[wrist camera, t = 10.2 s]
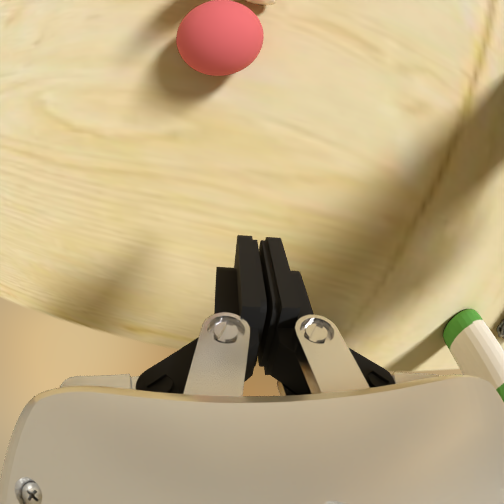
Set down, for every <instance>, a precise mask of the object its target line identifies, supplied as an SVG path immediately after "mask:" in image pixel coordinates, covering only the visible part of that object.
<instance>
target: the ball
mask: <svg viewBox="0 0 504 504" xmlns="http://www.w3.org/2000/svg"><path fill="white" fill-rule="evenodd" d="M176 42H177V48H178V51H179V53H180V55H181V57H182V59H183V60H184V61H185V62H186V63H187V64H188V65H189V66H190V67H191V68H193V69H194V70H196V71H198V72H201V73H203V74H207V75H213V76H224V75H229V74H233V73H236V72H238V71H240V70H242V69H244V68H246V67H247V66H248V65H250V64H251V63H252V62H253V61H254V60H255V58H256V57H257V55H258V54H259V52H260V50H261V48H262V44H263V29H262V25H261V23H260V21H259V19H258V17H257V16H256V15H255V14H254V13H253V12H252V11H251V10H250V9H249V8H247V7H246V6H244V5H242V4H240V3H237V2H234V1H230V0H214V1H209V2H206V3H203V4H201V5H199V6H197V7H195V8H194V9H192V10H191V11H190V12H189V13H188V14H187V15H186V16H185V17H184V18H183V20H182V21H181V23H180V25H179V28H178V31H177V37H176Z"/></svg>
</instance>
